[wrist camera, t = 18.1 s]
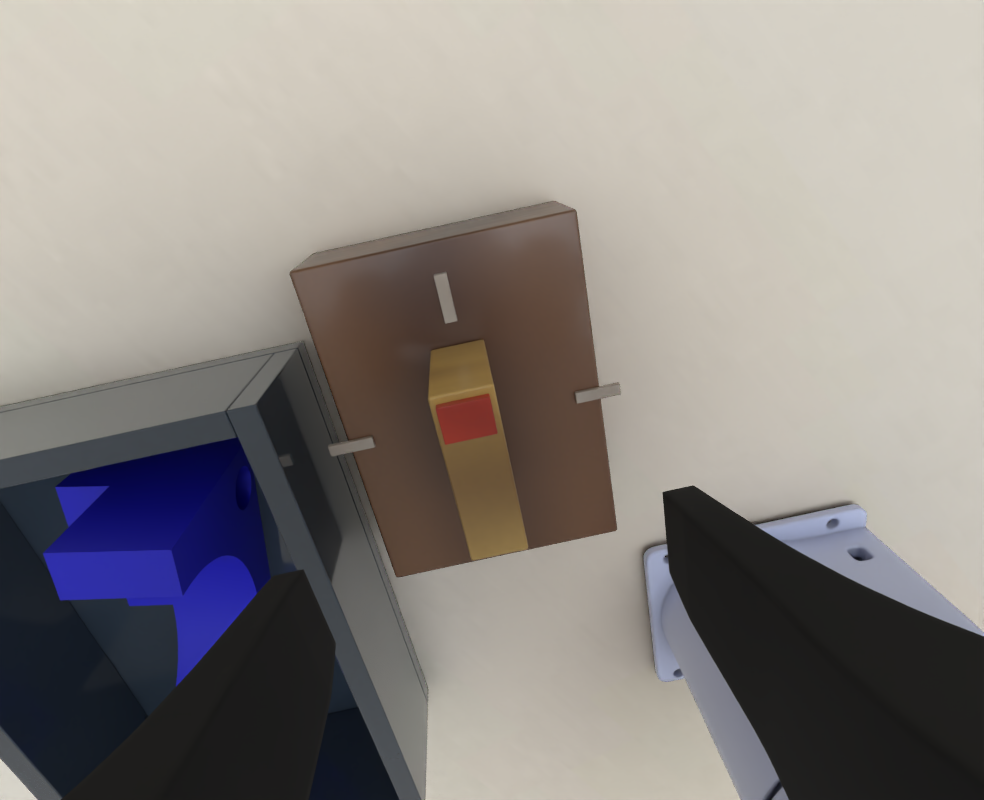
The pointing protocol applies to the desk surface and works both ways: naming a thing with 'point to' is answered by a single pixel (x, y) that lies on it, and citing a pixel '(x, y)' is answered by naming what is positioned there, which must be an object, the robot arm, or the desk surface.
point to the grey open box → (152, 629)
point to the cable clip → (166, 539)
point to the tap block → (513, 362)
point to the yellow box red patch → (475, 449)
